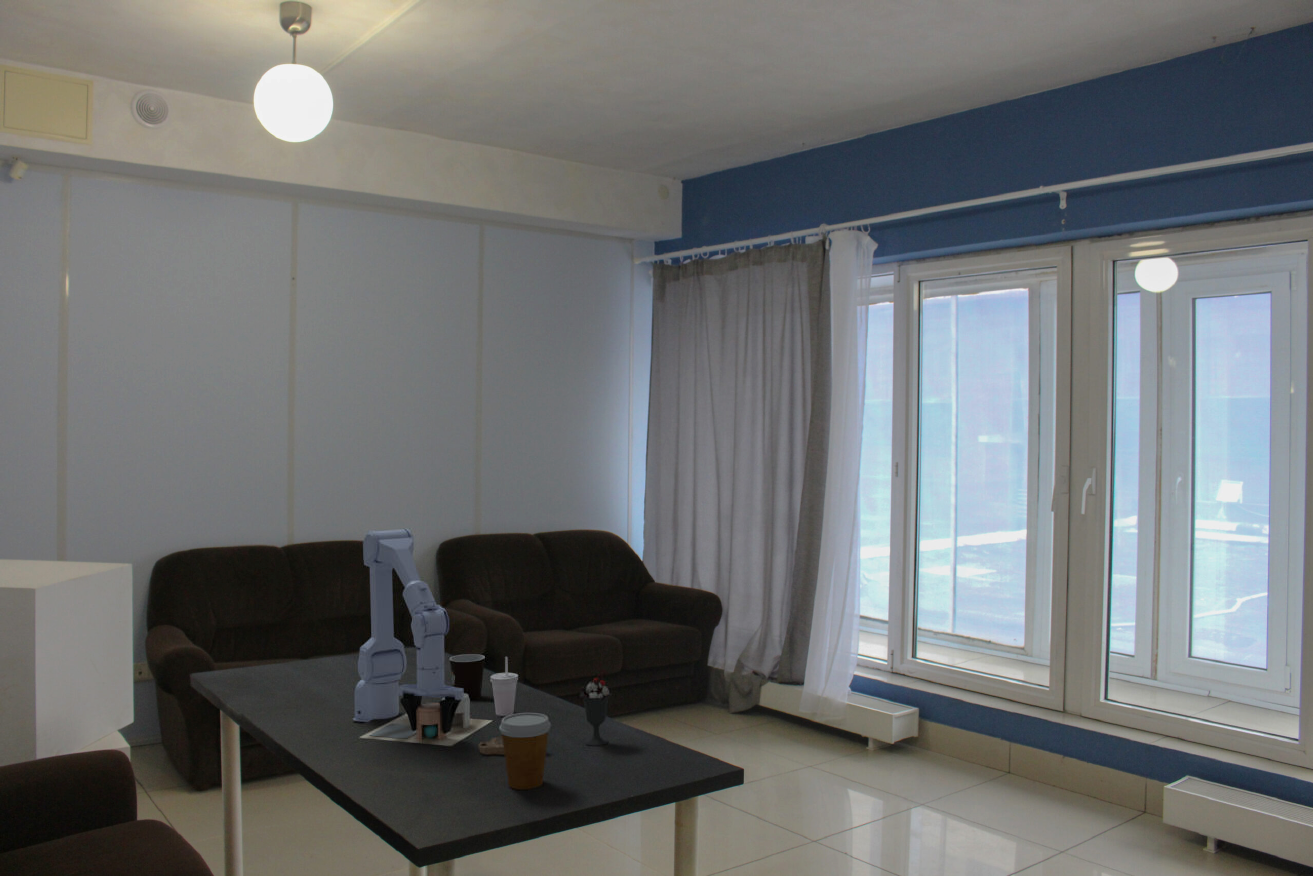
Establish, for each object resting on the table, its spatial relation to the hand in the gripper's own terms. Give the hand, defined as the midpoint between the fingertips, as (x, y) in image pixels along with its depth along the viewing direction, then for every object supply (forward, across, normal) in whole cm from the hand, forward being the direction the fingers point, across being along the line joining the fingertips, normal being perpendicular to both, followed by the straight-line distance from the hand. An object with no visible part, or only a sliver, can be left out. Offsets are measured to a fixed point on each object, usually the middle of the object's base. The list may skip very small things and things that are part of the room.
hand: (431, 730), depth 208 cm
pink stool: (+1, 0, 0) cm, 1 cm away
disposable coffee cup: (+3, +30, -18) cm, 35 cm away
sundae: (+3, +34, +9) cm, 35 cm away
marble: (0, 0, 0) cm, 0 cm away
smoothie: (+3, +7, +21) cm, 22 cm away
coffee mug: (+3, -10, +36) cm, 37 cm away
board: (+2, -4, +6) cm, 7 cm away
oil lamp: (+3, +20, -3) cm, 20 cm away
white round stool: (+1, +1, +9) cm, 9 cm away
